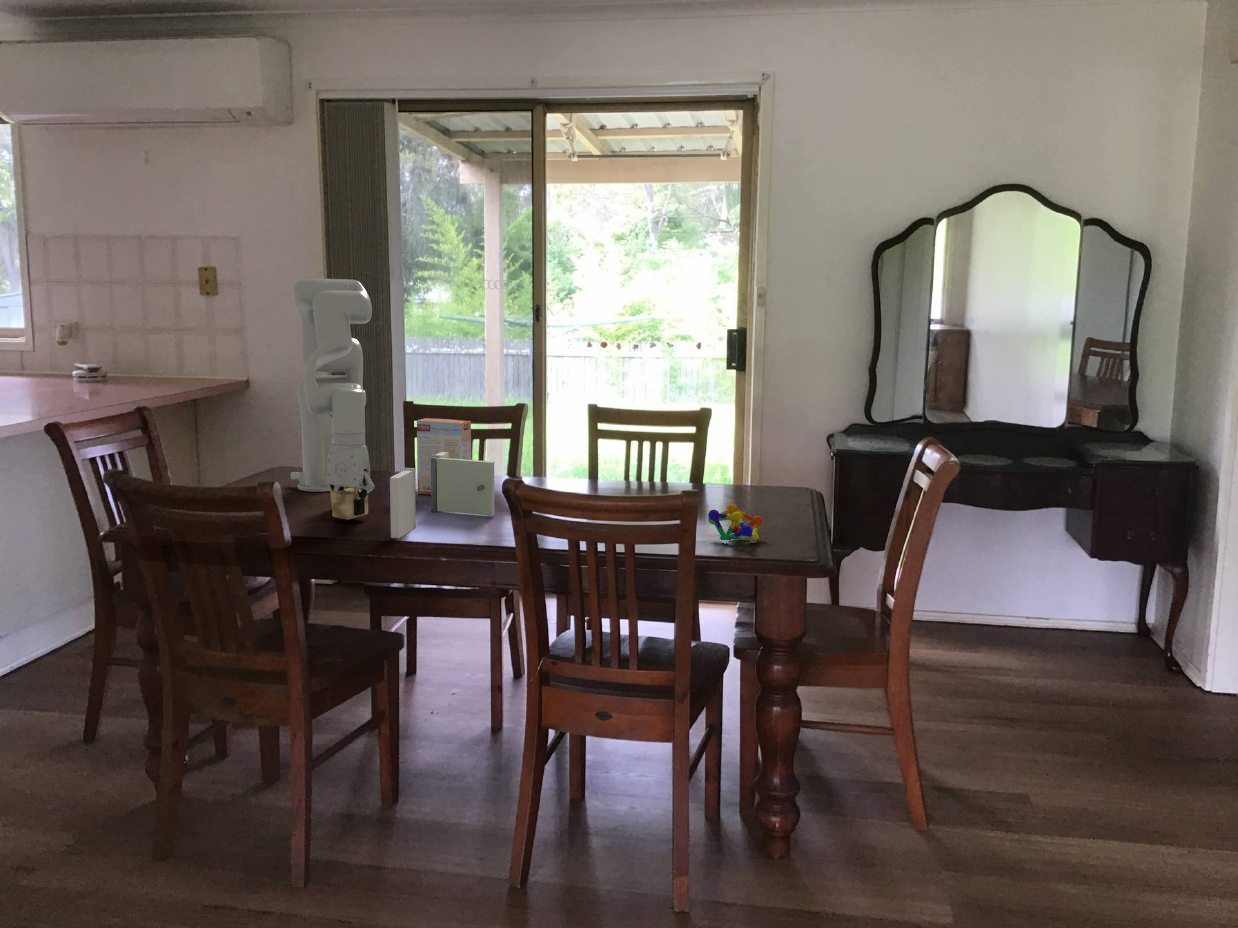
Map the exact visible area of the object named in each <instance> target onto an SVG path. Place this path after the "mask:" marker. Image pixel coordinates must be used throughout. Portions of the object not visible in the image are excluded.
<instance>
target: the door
mask: <svg viewBox="0 0 1238 928" xmlns="http://www.w3.org/2000/svg"><path fill="white" fill-rule="evenodd" d="M430 509H431V510H430V512H431V513H438V512H450V513H459V514H470V515H481V516H495V461H491V460H490V461H489V460H478V459H471V460H465V459H451V458H437V457H431V495H430Z"/></svg>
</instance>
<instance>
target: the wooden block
mask: <svg viewBox="0 0 1238 928" xmlns="http://www.w3.org/2000/svg"><path fill="white" fill-rule="evenodd" d="M359 492H361V490H360V489H359ZM355 499H356V498H355V494H354V489H353V488H347V489H343V490H340V491H336V492H332V505H331V510H332V511H331V512H332V514H331V515H332V516H331V517H333V518H337V519H343V520H347V521H348V520H352V519H355V518H359V517H361V516H362V517H363V516H365V515H369V494H368V495H367V497H366V498H365V513H364V514H361V515H358V516H355V515H354V500H355Z"/></svg>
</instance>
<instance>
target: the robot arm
mask: <svg viewBox="0 0 1238 928" xmlns="http://www.w3.org/2000/svg"><path fill="white" fill-rule="evenodd" d="M293 297H294V301H295V305H296V308H297V311H298V312H299V315H300V319H301V326H302V328H301V329H302V330H301V331H302V336H301V337H302V339H301V340H302V343H301V344H302V348H301V349H302V350H301V352H302V363H303V366H304V369H303V376H302V377H303V378H302V379H300V380H299V382H297V386H296V395H297V401H298V407H299V411H300V420H301V421H300V422H301V443H302V444H301V448H302V449H301V452H302V455H301V456H302V471H300V472H297V471H296V472H295V471H294V472H293V471H292V472H290V479H291V480H292V481H293V480H294V481H299V483H298V484H297V489H298V490H299V491H304V492H313V493H314V492H315V493H317V492H318V493H319V492H320V493H321V492H322V493H323V492H330V487H331V489H332V490H333V492H336V491H340V490H343V489H346V487H347V488H353V489H354V494H355V498H356V499H355V500H354V515H355V516H358V515H361V514H364V513H365V498H366V497H367V495H368V496H369V494H370V493H371V492H372V491H373V490H374V489H375V488H376V486H375V484H374V482H373V480H372V479H371V464H370V455H369V450H368V446H367V445H366V418H365V416H366V415H365V414H366V412H365V408H366V407H365V406H366V404H367V394H366V390H364V387H363V384H364V383H363V381H364V380H363V379H364V376H363V375H364V354H363V347H362V346H361V345H362V344H361V343H360V342H359V341H358V339H357V338H354V337H352V331H351V324H353V325H358V324H359V325H362V324H363V325H365V324H368V323H369V322H370V321H371V319H372V313H373V307H372V302H371V298H370V295H369V294H368V292H367V290H366V289H365V287H364V286H363V284H362V283H361V282H360V281H358V280H356V279H345V278H342V279H340V278H317V277H316V278H311V277H310V278H303V279H302V278H301V279H300V280H297V281H296V282H295V284H294V287H293ZM316 373H344V374H345V375H331V374H329V375H328V374H327V375H325V374H324V375H316ZM331 415H332V416H331ZM359 489H360V490H361V492H359Z"/></svg>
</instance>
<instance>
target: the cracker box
mask: <svg viewBox="0 0 1238 928" xmlns="http://www.w3.org/2000/svg"><path fill="white" fill-rule="evenodd" d="M440 452H449V458H451V459H465V460H472V421H471V420H460V419H448V418H447V419H446V418H431V417H428V418H427V417H425V418H421V419H418V420H416V462H417V463H416V466H417V468H416V469H417V472H416V473H417V476H416V477H417V480H416V481H417V494H418V495H426V496H427V495H428V496H431V455H436V454H438V453H440Z"/></svg>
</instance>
